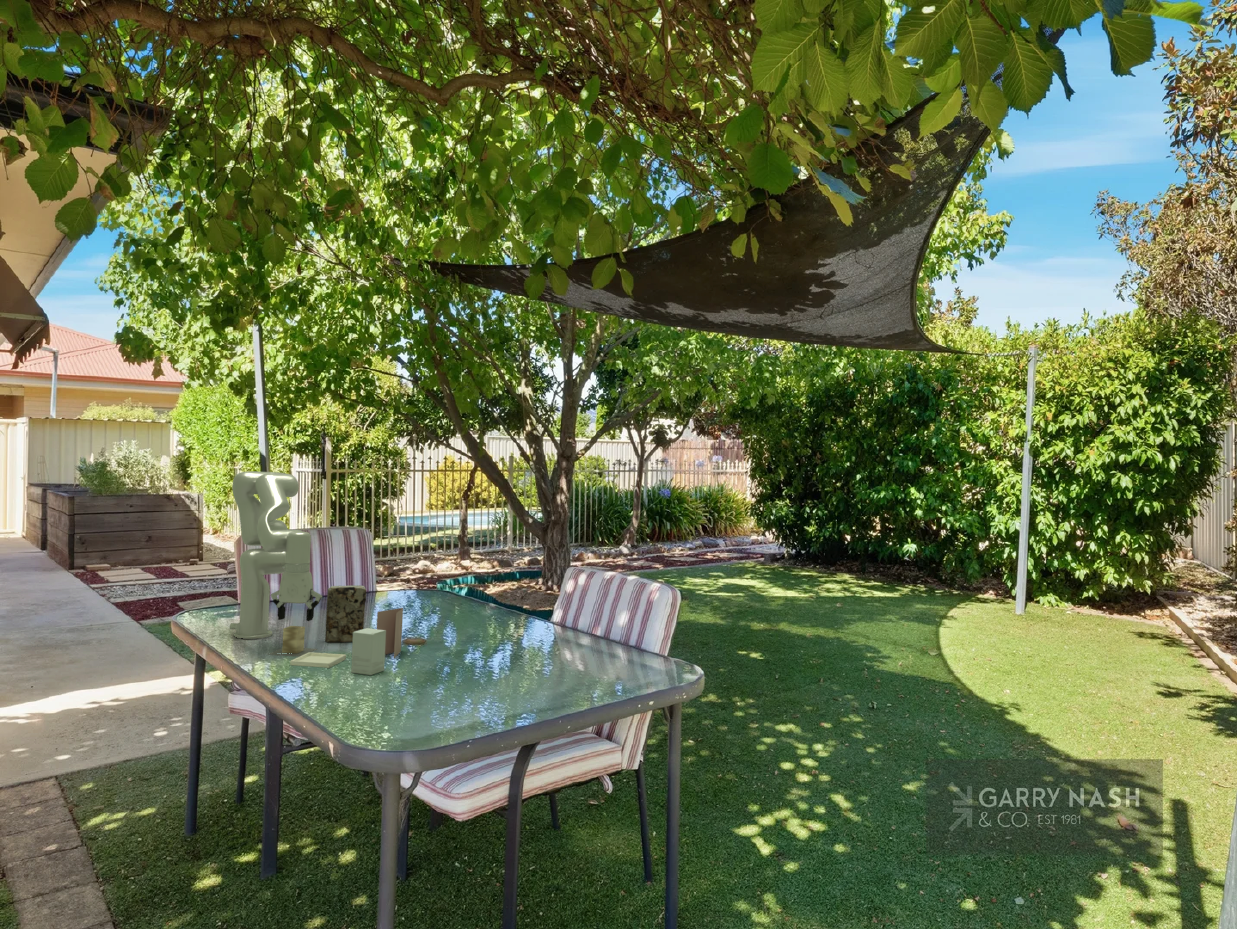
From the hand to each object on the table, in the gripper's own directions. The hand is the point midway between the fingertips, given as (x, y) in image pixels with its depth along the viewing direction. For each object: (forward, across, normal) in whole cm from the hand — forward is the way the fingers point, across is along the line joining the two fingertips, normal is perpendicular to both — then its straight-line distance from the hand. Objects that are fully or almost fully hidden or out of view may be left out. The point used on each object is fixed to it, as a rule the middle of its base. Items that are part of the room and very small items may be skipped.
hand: (295, 619), depth 265 cm
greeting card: (+12, +32, +6) cm, 35 cm away
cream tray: (+11, +13, -10) cm, 20 cm away
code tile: (+11, -1, 0) cm, 11 cm away
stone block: (+11, +8, +20) cm, 25 cm away
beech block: (+11, -1, 0) cm, 11 cm away
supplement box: (+12, +32, -18) cm, 39 cm away
